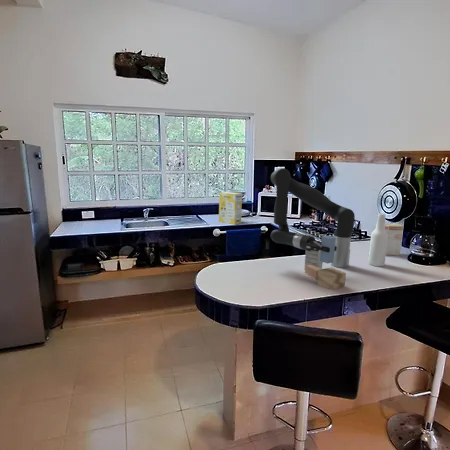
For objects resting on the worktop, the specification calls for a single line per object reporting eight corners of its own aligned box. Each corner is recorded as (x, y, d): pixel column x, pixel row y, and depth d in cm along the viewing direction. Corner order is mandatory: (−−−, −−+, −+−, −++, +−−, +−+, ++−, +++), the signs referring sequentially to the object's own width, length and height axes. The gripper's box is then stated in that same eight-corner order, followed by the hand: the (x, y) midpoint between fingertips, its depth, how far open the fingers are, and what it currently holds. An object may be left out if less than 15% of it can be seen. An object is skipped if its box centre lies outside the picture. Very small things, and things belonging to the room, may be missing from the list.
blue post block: (325, 259, 162) (327, 235, 159) (333, 262, 158) (335, 237, 156) (319, 261, 159) (321, 236, 157) (327, 263, 155) (329, 238, 153)
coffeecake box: (395, 252, 222) (399, 224, 218) (400, 255, 215) (404, 226, 211) (372, 251, 223) (375, 223, 219) (376, 254, 216) (379, 225, 212)
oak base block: (330, 280, 166) (331, 267, 165) (344, 286, 158) (346, 272, 157) (316, 283, 162) (318, 269, 160) (331, 290, 154) (332, 275, 153)
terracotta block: (304, 273, 176) (305, 265, 176) (312, 272, 178) (312, 264, 177) (315, 279, 167) (316, 271, 166) (323, 278, 169) (324, 270, 168)
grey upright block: (309, 267, 186) (311, 245, 184) (322, 270, 182) (324, 247, 179) (303, 270, 181) (305, 247, 178) (316, 273, 176) (318, 250, 174)
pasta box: (241, 223, 312) (242, 193, 306) (234, 224, 303) (235, 194, 298) (225, 220, 322) (226, 191, 317) (218, 222, 314) (219, 192, 309)
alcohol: (375, 261, 200) (381, 212, 194) (387, 266, 192) (394, 214, 186) (364, 263, 197) (370, 212, 191) (376, 267, 189) (382, 215, 183)
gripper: (294, 236, 163) (324, 243, 150) (313, 233, 172) (342, 239, 159) (293, 251, 165) (322, 259, 151) (312, 247, 173) (341, 255, 160)
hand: (332, 249), depth 155 cm, fingers closed on blue post block, 4 cm apart
